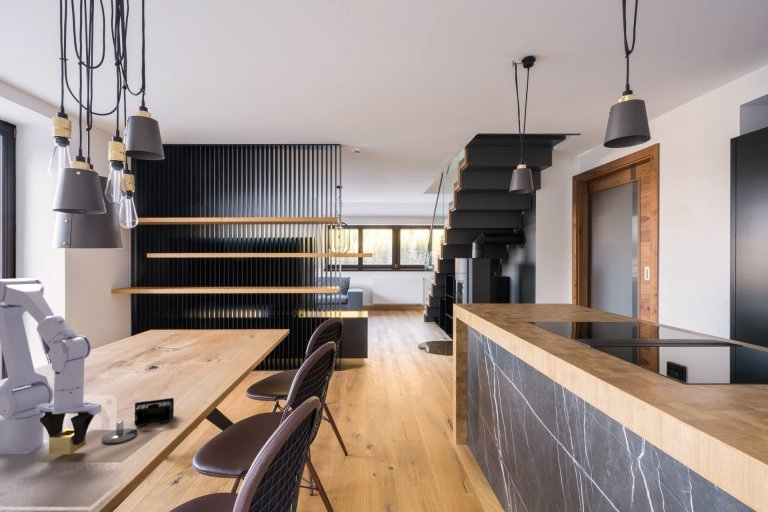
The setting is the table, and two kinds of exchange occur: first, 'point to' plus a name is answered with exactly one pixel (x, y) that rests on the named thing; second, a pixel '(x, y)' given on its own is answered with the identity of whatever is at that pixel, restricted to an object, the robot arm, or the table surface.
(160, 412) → the end cap
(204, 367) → the table surface
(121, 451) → the board
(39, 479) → the table surface
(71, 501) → the table surface
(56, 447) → the collar
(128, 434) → the stand
